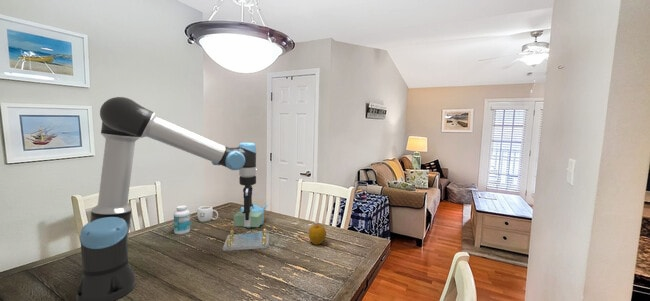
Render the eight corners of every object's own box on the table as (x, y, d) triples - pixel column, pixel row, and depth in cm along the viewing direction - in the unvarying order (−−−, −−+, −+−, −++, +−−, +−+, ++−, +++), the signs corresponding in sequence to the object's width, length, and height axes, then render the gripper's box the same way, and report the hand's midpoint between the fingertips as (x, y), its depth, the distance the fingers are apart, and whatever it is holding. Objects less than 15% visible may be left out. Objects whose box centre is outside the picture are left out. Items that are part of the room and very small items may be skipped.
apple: (329, 244, 129) (330, 226, 128) (315, 248, 124) (315, 230, 123) (318, 238, 135) (319, 221, 135) (305, 242, 130) (305, 224, 129)
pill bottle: (173, 231, 139) (172, 205, 138) (189, 228, 143) (188, 203, 142) (174, 236, 133) (174, 209, 132) (191, 233, 137) (190, 207, 136)
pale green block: (262, 222, 129) (262, 212, 129) (258, 227, 123) (257, 216, 123) (239, 221, 131) (239, 211, 131) (233, 225, 125) (233, 215, 125)
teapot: (232, 223, 151) (232, 204, 150) (262, 217, 162) (262, 199, 161) (242, 233, 139) (242, 212, 138) (274, 226, 150) (274, 206, 149)
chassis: (269, 235, 137) (269, 227, 136) (268, 247, 123) (268, 238, 123) (228, 237, 133) (228, 228, 132) (222, 250, 119) (222, 240, 119)
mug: (194, 222, 151) (193, 209, 151) (201, 217, 160) (201, 204, 159) (214, 223, 151) (214, 210, 150) (221, 218, 159) (221, 205, 158)
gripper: (254, 180, 116) (254, 231, 118) (257, 171, 136) (257, 215, 138) (236, 180, 114) (237, 232, 117) (241, 172, 134) (242, 216, 136)
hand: (248, 223), depth 127 cm, fingers closed on pale green block, 7 cm apart
